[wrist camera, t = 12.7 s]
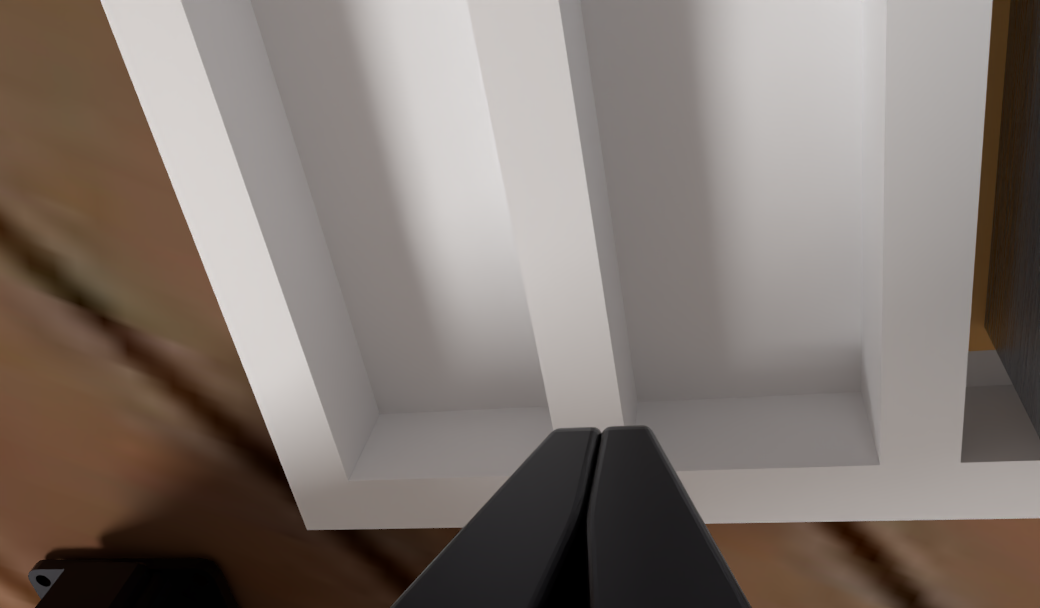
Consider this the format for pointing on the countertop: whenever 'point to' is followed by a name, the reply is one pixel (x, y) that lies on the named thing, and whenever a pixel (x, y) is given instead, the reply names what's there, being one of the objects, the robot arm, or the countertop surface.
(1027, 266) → the blanking panel
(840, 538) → the countertop surface
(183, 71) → the panel rack
